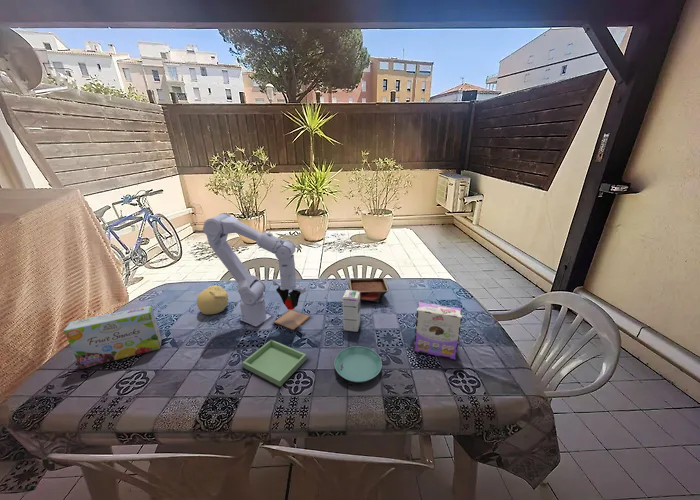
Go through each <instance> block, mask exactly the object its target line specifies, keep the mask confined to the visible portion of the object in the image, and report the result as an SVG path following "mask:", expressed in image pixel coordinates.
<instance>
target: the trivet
mask: <svg viewBox="0 0 700 500" xmlns="http://www.w3.org/2000/svg"><path fill="white" fill-rule="evenodd" d="M309 319H311V318H310V315H309V314H308V315H307V314H305V313H302V312H299V311H295V310H294V309H293V310H287V312H285V313H284V314H282V315H281V316H280V317H278V318H277V319H276V320H274V321H273V323H274V324H277V325H279V326H282V327H283V328H286V329H289V330H292V331H295V330H296V329H297V328H298V327H300V326H302V325H303V324H304V323H305V322H307V321H308V320H309Z"/></svg>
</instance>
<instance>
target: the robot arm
mask: <svg viewBox="0 0 700 500" xmlns="http://www.w3.org/2000/svg"><path fill="white" fill-rule="evenodd" d="M202 231H203V233H204V234H205V236H206V239H207V243H208V245H209V247H210V248H211V249H212V251H213V252H214V253H215V255H216V256H217V258H218V259H219V260H220V261H221V262H222V264H223V266H224V267H225V268H226V270H227V271H228V272H229V273H230V275H231V276H232V277H233V279H234V280H235V282H236V283H237V293H238V294H239V296H240V300H241V301H240V303H239V305H240V306H239V307H240V314H241V318H240V321H241V322H244V323H247V324H249V325H250V326H254V327H256V328H257V327H258V326H260V325H261V324H263V323H264V322H266V321H267V320H268V319H270V318H271V317H272V315H271V314H269V313H267V310H266V309H267V308H266V302H265V296H264V293H265V291H266V287H267V286H266V284H265V283H264V281H262V280H260V279H259V278H258V277H257V276H256V275H252V274H251V273H250V272H249V270H248V269H247V267H246V266H245V264H244V263H243V262H242V260H241V259H240V258H239V257H238V255H237V254H236V253H235V251H234V250H233V249H232V247H231V245H230V244H229V243H228V241H227V240H228V237H229V236H228V235H229V234H237V235H240V236H242V237H244V238H246V239H249V240H252V241H254V242H256V245H257V246H258V247H259V248H261V249H263V250H266V251H267V252H269V253H271V254H274V255H275V258H276V259H277V260H278V269H279V270H278V271H279V279H278V278H275V279H272V285H273V286H278V287H277V288H276V291H275V292H277V294H278V295H279V297H280V298H281V301H282V304H283V305H284V306H285V301H286V299H287V297H288V296H290V297H291V301H292V306H293V308H294V309H295V308H296V307H298V305H299V299H300V297H301V295H304V293H306V291H307V290H306V286H304V285H301V283H300V282H299V283H298V282H297V276H296V275H297V274H296V262H295V255H294V253H296V245H295V244H294V243H293V242H292V241H291V240H288V239H287V240H286V239H285V240H284V239H283V238H279V237H277V236H275V235H273V233H272V232H270V231H269V232H267V231H264V232H260V231H258V230H257V229H254V228H253V227H251V226H250V225H247V224H245V223H243V222H242V221H240V220H239V219H238V218H237V217H236V216H234V215H231V214H229V213H227V212H222V213H219V214H218V215H216V216H213V217H211V218H207V219H206V220H205V221H204V223H203V227H202Z"/></svg>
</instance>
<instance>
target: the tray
mask: <svg viewBox="0 0 700 500" xmlns="http://www.w3.org/2000/svg"><path fill="white" fill-rule="evenodd" d="M306 361H307V354H306V353H304V352H302V351H299V350H297V349H295V348H292V347H291V346H288V345H285V344H283V343H282V342H278V341H276V340H273V339H270V340H268V341H267V342H266V343H265V344H263V345H262V346H261V347H260V348H258V349H256V350H255V352H253V353H252V354H250V356H248V357H247V358H245V359H244V360H243V361H242V362H241V363H242V368H243V369H245V370H247V371H249V372H251V373H253V374H255V375H257V376H259V377H260V378H263V379H264V380H266V381H269V382H270V383H272V384H274V385H276V386H278V387H280V388H282V386H283V385H284V384H285V383H286V382H287V380H288V379H290V378H291V376H292V375H293V374H295V372H297V370H298V369H300V367H301V366H302V365H303V364H304V363H305V362H306Z"/></svg>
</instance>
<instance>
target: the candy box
mask: <svg viewBox="0 0 700 500" xmlns="http://www.w3.org/2000/svg"><path fill="white" fill-rule="evenodd" d="M462 321H463V313H462V308H461V307H460V308H459V307H455V306H448V305H443V304H435V303H428V302H423V301H418V303H417V308H416V315H415V326H414V339H413V340H414V341H413V348H412V351H413V352H416V353H422V354H427V355H432V356H436V357H441V358H446V359H449V360H450V359H451V360H457V356H458V349H459V340H460V334H461V330H462V329H461V328H462Z"/></svg>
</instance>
